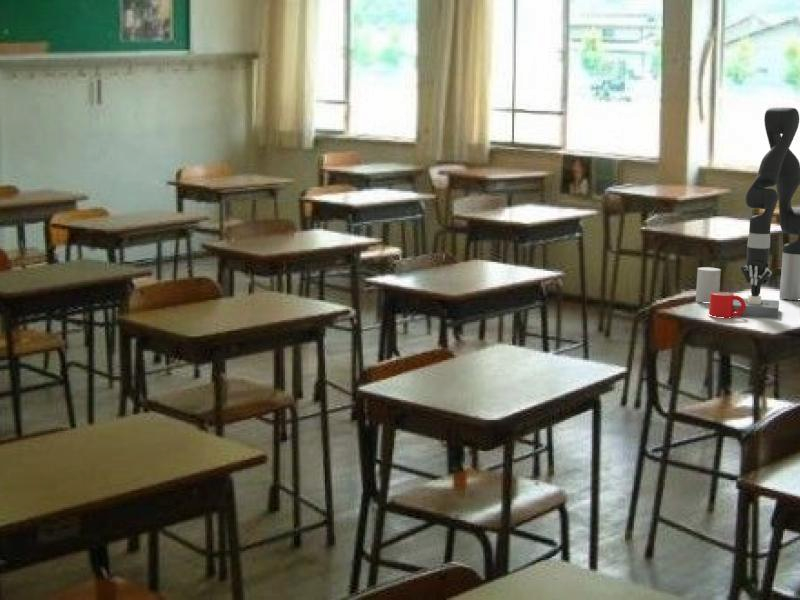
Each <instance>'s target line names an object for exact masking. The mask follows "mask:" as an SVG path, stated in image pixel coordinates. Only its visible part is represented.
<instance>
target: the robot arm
mask: <svg viewBox="0 0 800 600" xmlns="http://www.w3.org/2000/svg"><path fill="white" fill-rule="evenodd" d="M763 121H764V128H765V132H766V136H767V141H768V144H769V151H768V152H766V153H765V154H764V156H763V157H762V160H761V162H760V165H759V169H758V172H757V175H756V178H755V179H754V181H753V182H752V184H751V186H750V187H749V188H748V190H747V192H746V195H745V203H746V205H747V206H748V208H751V209H760V210H764V211H763V213H762V214H756V215H753V216H751V217H750V219H749V226H748V227H749V228H748V229H749V230H748V231H749V233H748V238H747V247H746V248H747V249H746V259H747V261H746V265H744V266H742V267H740V270H741V272H742V274H743V276H744V278H745V281H746V282H747V283H749V284H750V286H751V289H750V290H751V291H750V293H751V294H750V295H753V296H760V294H761V289H762V288H761V287H762V285H766V284H767V282H768V281H769V280H770V278H771V277H772V276H773V275H774V271H773V270H770V268H769V264H768V262H769V260H770V253H771V252H770V250H771V226H772V219H773V216H774V212H775V209H776V208H777V204H778V216H779V226H780V228H781V229H780V230H781V231H782V232H783V233H784V234H788V235H798V236H797V239H796V240H795V241H791V242H789V243H788V242H787V243H785V244H783V246H782V258H781V273H780V283H779V284H780V285H779V287H780V288H779V297H780V298H782V299H781V300H784V299H788V300H787V301H792V300H798V299H800V209H797V208H792V198H793V197H794V195H795V193H796V192H797V190H798V188H799V187H800V161H799V159H798V158H797V156H796V155H795V154H794V152H793V151H792V150H791V149H790V147H791V145H792V142H793V140H794V139H795V136H796V133H797V131H798V129H799V124H800V114H799V111H798V109H796V108H794V107H769V108H767V109H766V111H765V113H764V120H763ZM774 186H776V190H775V189H774V188H771V187H774ZM780 298H779V299H780Z"/></svg>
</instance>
